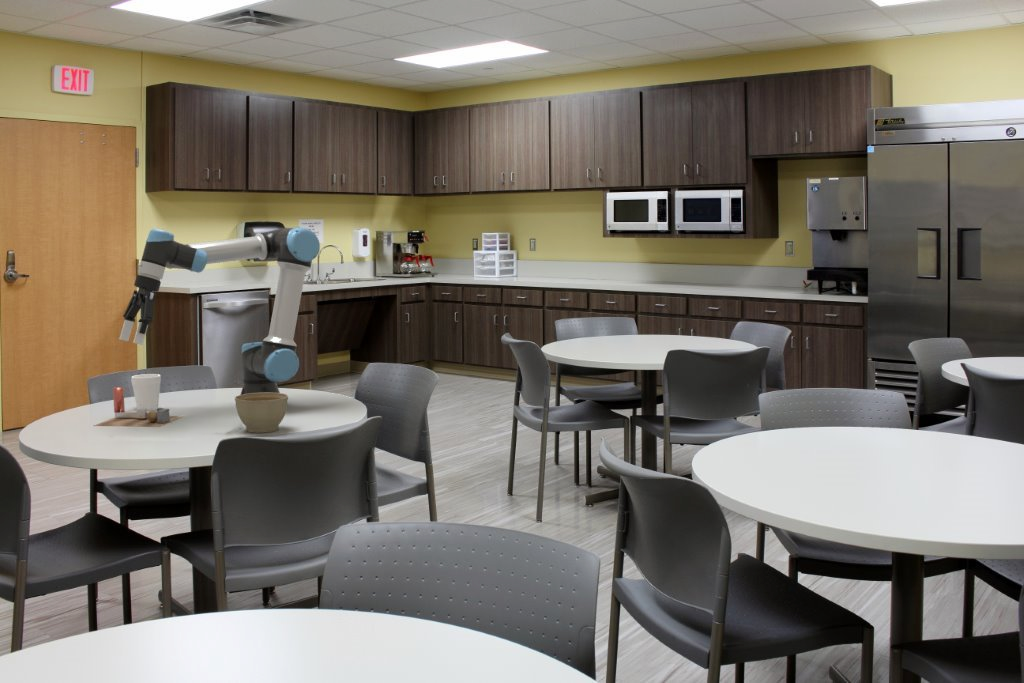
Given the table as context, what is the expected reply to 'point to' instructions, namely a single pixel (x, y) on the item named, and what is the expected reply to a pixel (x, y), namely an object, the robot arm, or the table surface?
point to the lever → (120, 408)
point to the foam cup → (146, 390)
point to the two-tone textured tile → (163, 416)
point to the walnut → (152, 416)
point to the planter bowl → (261, 410)
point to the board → (134, 421)
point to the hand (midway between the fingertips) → (130, 342)
